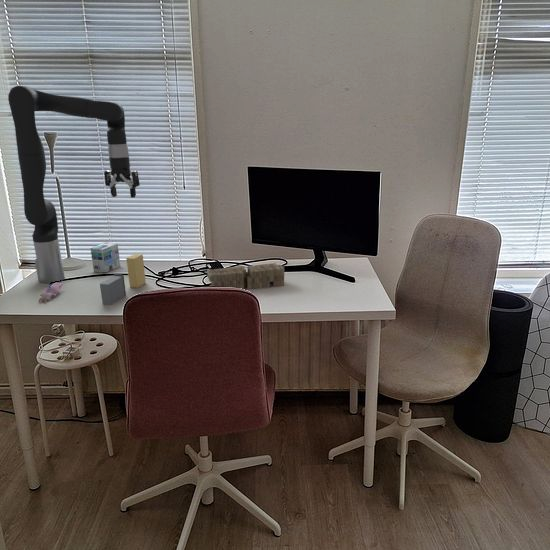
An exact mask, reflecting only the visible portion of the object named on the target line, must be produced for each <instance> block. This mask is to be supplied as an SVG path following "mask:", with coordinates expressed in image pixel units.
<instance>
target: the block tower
mask: <svg viewBox="0 0 550 550" xmlns="http://www.w3.org/2000/svg"><path fill="white" fill-rule="evenodd" d="M206 271H207V272H206V273H207V274H206V275H207V279H208V281H209V283H211V284H210V285H211V286H226V287H236V288H242V289H244V290H245V289H247V291H251V290H252V291H253V290H260V289H270V285H271V287H272V288H277V287H284V286H285V267H284V266H283V265H282V264H277V263H276V262H275V263H264V264H255V265H253V264H251V265H247V269H246V267H245V266H243V265H241V266H230V267H225V268H215V269H211V268H207V269H206Z"/></svg>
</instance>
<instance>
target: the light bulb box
mask: <svg viewBox="0 0 550 550" xmlns="http://www.w3.org/2000/svg"><path fill="white" fill-rule="evenodd" d="M90 253H91V255H90V256H91V262H92V267H93V272H94V271H95V272H96V273H102V272H107V273H108V271H109V272H111V271H113V270H116V269H118V268H120V267H121V261H120V258H121V257H120V251H119V243H117V242H115V243H114V242H109V241H108V242H107V241H105V242H103V243H101V244H98V245H95V246H93V247H91V248H90ZM119 266H120V267H119ZM117 267H118V268H117ZM115 268H116V269H115ZM112 269H113V270H112ZM110 270H111V271H110ZM95 272H94V273H95Z"/></svg>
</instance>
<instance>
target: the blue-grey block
mask: <svg viewBox="0 0 550 550" xmlns="http://www.w3.org/2000/svg"><path fill="white" fill-rule="evenodd" d="M99 287H100V293H101V295H100V296H101V302H102V305H107V306H108V305H109V306H111V305H113V304H116V303H117V302H118V301H119V300H121V299H123V298H124V297H126V296H127V291H126V284H125V278H124V274H120V273H119V274H116V273H115V274H113V276H111V277H109V278H108V279H105V280H104V281H102V282H100V283H99Z"/></svg>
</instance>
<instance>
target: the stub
mask: <svg viewBox="0 0 550 550" xmlns="http://www.w3.org/2000/svg"><path fill="white" fill-rule="evenodd" d="M144 263H145V262H144V255H143V254H142V253H133V254H132V255H129V256H127V257H126V267H127V276H128V282H129V288H135V289H138V288H140V287H141V286H143V285H145V284H146V283H147V281H146V274H145V265H144Z"/></svg>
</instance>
